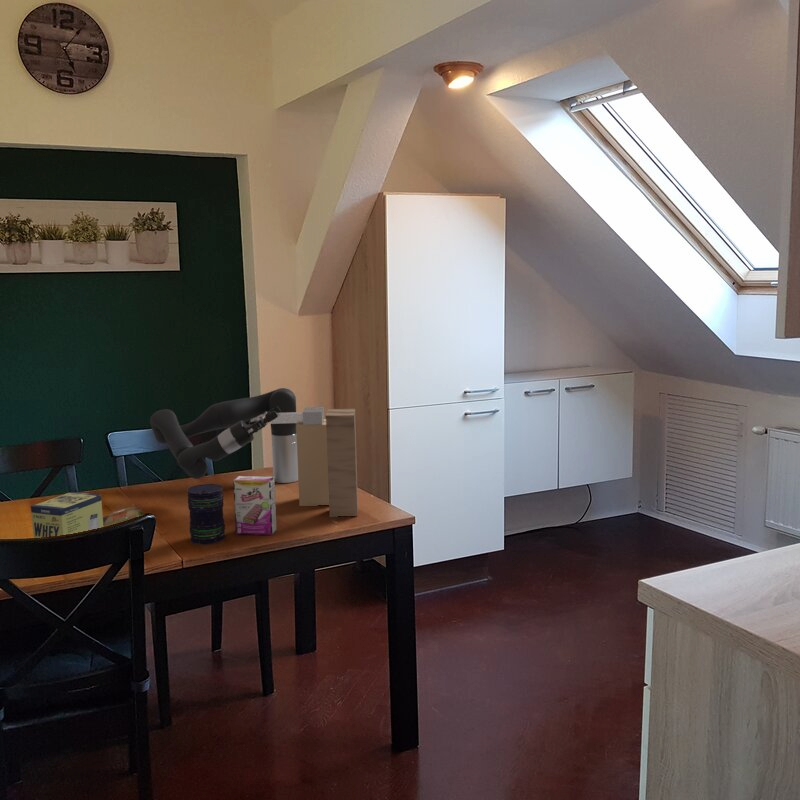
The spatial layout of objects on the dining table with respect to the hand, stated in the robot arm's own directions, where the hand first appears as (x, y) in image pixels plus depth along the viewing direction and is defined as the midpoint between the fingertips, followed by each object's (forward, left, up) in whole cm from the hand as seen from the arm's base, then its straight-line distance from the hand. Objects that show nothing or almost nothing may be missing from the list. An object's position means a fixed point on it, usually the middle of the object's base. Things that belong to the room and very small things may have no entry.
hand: (277, 411), depth 269 cm
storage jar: (+36, -17, -31) cm, 50 cm away
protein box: (+46, -52, -31) cm, 76 cm away
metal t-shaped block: (0, +5, -4) cm, 7 cm away
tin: (+33, -42, -31) cm, 61 cm away
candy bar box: (+31, -4, -31) cm, 44 cm away
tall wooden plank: (+14, +21, -30) cm, 39 cm away
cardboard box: (0, +12, -30) cm, 33 cm away
